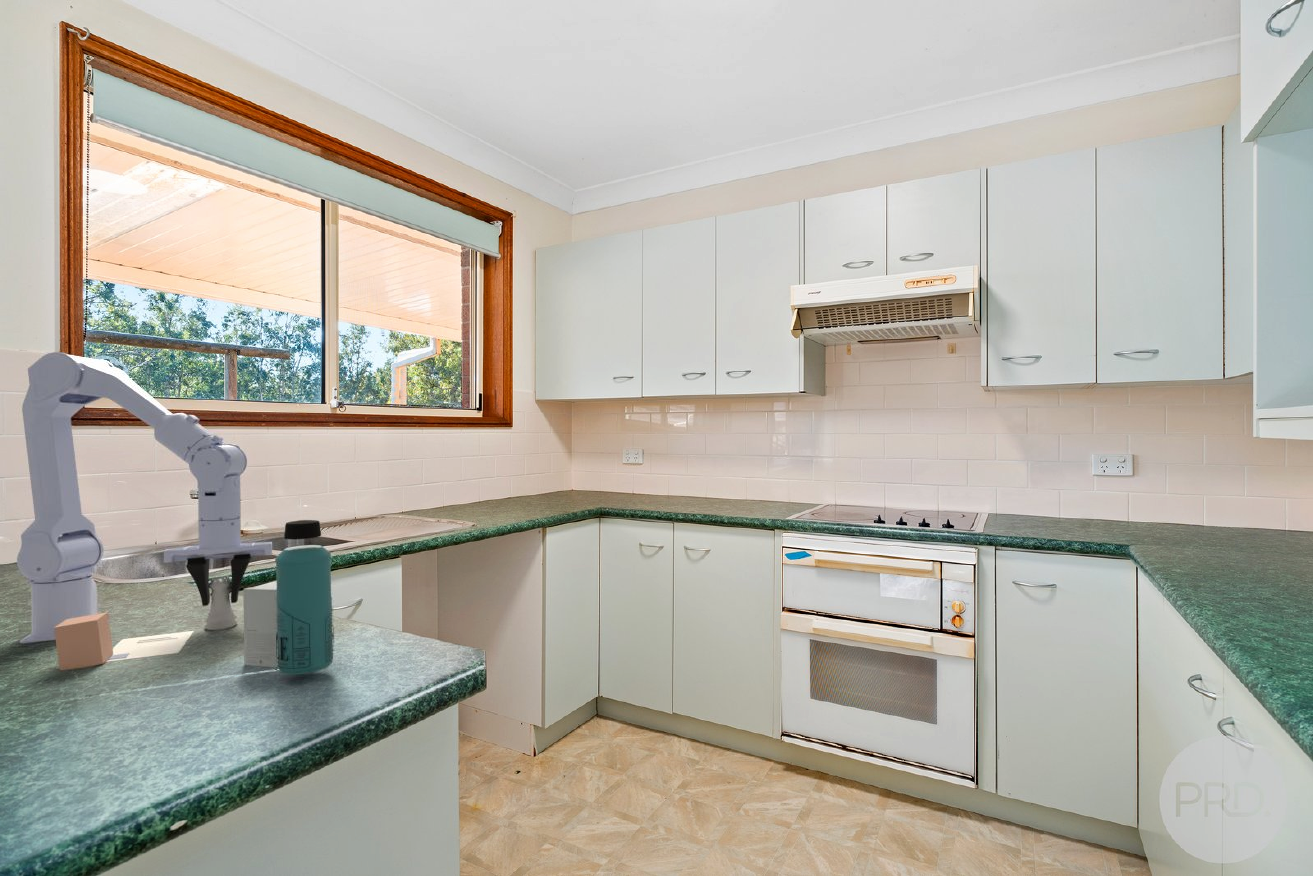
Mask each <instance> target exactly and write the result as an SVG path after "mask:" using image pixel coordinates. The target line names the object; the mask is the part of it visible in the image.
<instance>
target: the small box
mask: <svg viewBox="0 0 1313 876" xmlns="http://www.w3.org/2000/svg"><path fill="white" fill-rule="evenodd" d="M276 588H277V582H276V580H273V581H269V582H267V583H263V584H260V585H256V586H252V587H246V588H243V590H242V591H243V665H244V666H253V667H255V666H256V667H267V668H269V667H270V668H278V659H277V658H278V648H277V657H276V634H277V622H276V621H277V616H276V615H277V604H276V603H277V600H276V599H277V598H276V595H277V589H276ZM275 591H276V592H275ZM275 598H276V599H275ZM275 600H276V601H275ZM275 617H276V618H275ZM277 647H278V642H277ZM276 660H277V661H276Z"/></svg>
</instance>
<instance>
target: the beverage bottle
mask: <svg viewBox="0 0 1313 876" xmlns="http://www.w3.org/2000/svg"><path fill="white" fill-rule="evenodd" d="M284 526H285V527H284V533H283V536H284V537H283V539H285V540H307V539H314V538H320V537H322V531H321V523H320V521H319V520H316V519H300V520H294V521H293V520H292V521H288V522H286V523H285V525H284ZM275 557H276V558H275V559H274V560H275V562H274V563H275V570H276V571H275V574H276V579H275V581H276V582H277V588H276V589H277V595H276V598H277V599H276V598H275V599H276V600H277V603H276V604H277V615H276V616H277V621H276V622H277V634H276V657H277V648H278V658H277V659H278V667H277V668H278V670H279V672H280V673H282V674H286V675H300V674H302V675H303V674H308V673H314V672H317V671H318V672H319V671H321V670H323V669H326V668H327V667H330V666H331V665H332V663H333V659H334V658H335V656H334V655H335V652H334V648H335V628H334V627H335V626H334V624H333V617H334V614H333V610H334V607H333V603H332V602H333V598H332V581H331V579H332V578H331V577H332V576H331V575H332V574H331V573H332V572H331V571H332V570H331V558H332V554H331V552H330V551H329V550H328V549H326V548H325V547H324V546H322V545H319V544H318V545H316V544H308V545H298V546H297V545H296V546H291V547H286V548H284V549H283V550H282V551H281V552H280V553H279V554H277V556H275ZM275 592H276V591H275ZM276 600H275V601H276ZM275 618H276V617H275ZM277 642H278V647H277ZM276 661H277V660H276Z"/></svg>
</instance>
